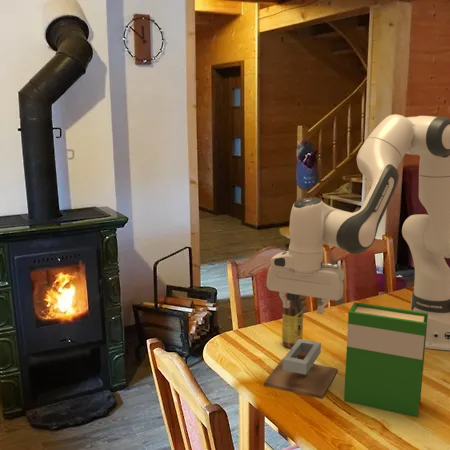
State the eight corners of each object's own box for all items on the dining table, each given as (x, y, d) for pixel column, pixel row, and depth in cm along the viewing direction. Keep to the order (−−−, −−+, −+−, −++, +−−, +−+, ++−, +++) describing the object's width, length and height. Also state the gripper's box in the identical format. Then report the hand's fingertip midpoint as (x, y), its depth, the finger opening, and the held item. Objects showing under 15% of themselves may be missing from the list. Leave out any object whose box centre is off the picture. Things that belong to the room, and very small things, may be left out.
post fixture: (337, 371, 153) (338, 347, 151) (322, 398, 139) (323, 372, 137) (283, 360, 159) (284, 337, 158) (263, 385, 145) (264, 360, 144)
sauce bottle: (301, 350, 166) (303, 288, 161) (280, 348, 167) (282, 286, 163) (302, 341, 172) (304, 281, 168) (283, 339, 173) (284, 280, 169)
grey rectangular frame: (298, 348, 155) (299, 338, 155) (320, 352, 153) (321, 342, 152) (282, 369, 143) (282, 359, 142) (306, 374, 140) (306, 364, 140)
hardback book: (420, 402, 137) (428, 312, 132) (417, 417, 130) (425, 323, 125) (350, 387, 144) (354, 302, 139) (343, 401, 137) (348, 312, 132)
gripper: (347, 262, 140) (344, 312, 143) (273, 252, 149) (272, 300, 152) (342, 268, 135) (339, 321, 138) (264, 258, 143) (263, 307, 146)
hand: (303, 310), depth 145 cm, fingers open, 8 cm apart
